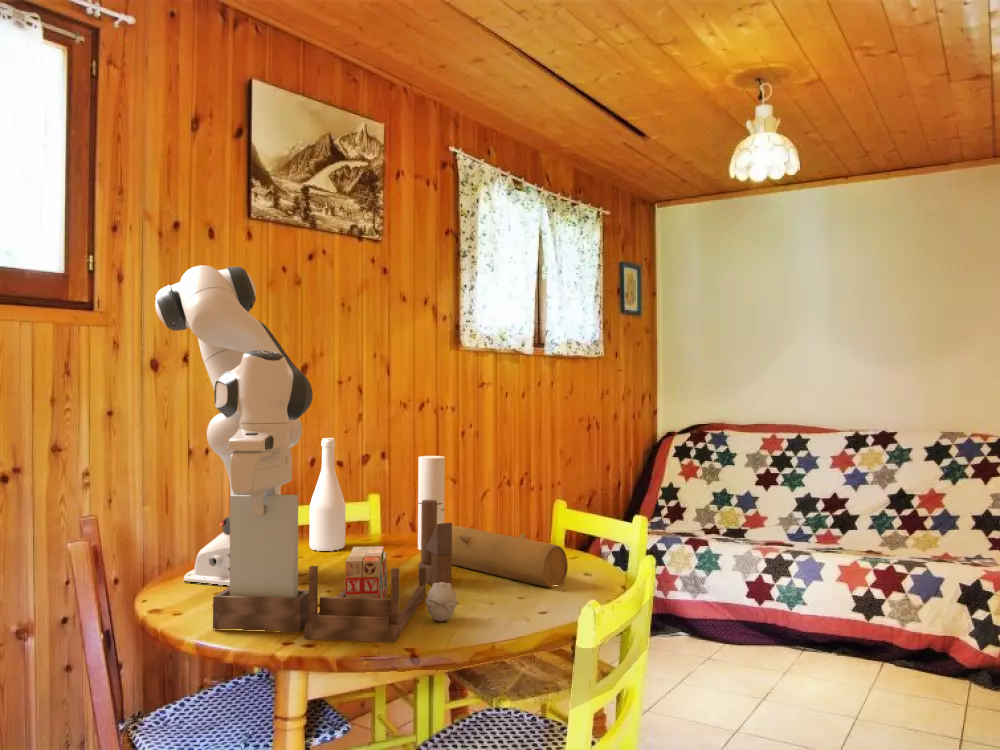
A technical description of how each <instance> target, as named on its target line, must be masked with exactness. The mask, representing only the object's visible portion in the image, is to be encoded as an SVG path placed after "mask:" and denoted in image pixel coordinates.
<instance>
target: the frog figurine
mask: <svg viewBox="0 0 1000 750" xmlns="http://www.w3.org/2000/svg"><path fill="white" fill-rule="evenodd" d="M424 603H425V606H426V607H427V612H428V614H429V616H430V617H431V618H432V619H433V620H435V622H436V621H437V622H445V621H448V620H449V619H450V618H451V617H452V616H453V614H454V612H455V609H456V607H457V606H458V598H457V597H456V591H455V590H454V588H453V586H452V582H451V583H445V582H439V583H434V584H433V585H432V584H431V588H430V589H429V591H428V593H427V597H425V602H424Z"/></svg>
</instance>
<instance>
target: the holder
mask: <svg viewBox="0 0 1000 750" xmlns="http://www.w3.org/2000/svg"><path fill="white" fill-rule="evenodd" d="M308 622H309V589H308V590H307V589H305V590H303V589H298V597H297V598H282V597H248V596H230V587H227V588H226V589H224V590H222V591H220V592H218V593H217V594H216V595H213V596H212V630H213V629H214V628H215V629H243V630H265V631H280V632H279V633H286V632H301V631H302V630H303V629H304V628H305V625H306V624H307V623H308ZM304 630H305V629H304ZM304 630H303V631H304ZM303 631H302V632H303ZM302 632H301V633H302Z"/></svg>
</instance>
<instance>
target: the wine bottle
mask: <svg viewBox="0 0 1000 750" xmlns="http://www.w3.org/2000/svg"><path fill="white" fill-rule="evenodd" d="M320 445H321V448H322V450H321V470H320V473H319V476H318V479H317V482H316V485H315V489H314V491H313V494H312V496H311V501H310V504H309V536H308V537H309V542H308V543H309V548H310V550H312V551H314V550H317V551H316V552H319V551H330V552H335V551H334V550H337V551H340V550H339V549H341V550H343V549H344V547H345V546H346V511H347V510H346V502H345V497H344V495H343V491H342V488H341V485H340V483H339V480H338V477H337V472H336V468H335V467H336V466H335V447H336V440H335V438H334V437H323V438H322V440H321V444H320ZM342 548H343V549H342Z"/></svg>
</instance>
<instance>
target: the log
mask: <svg viewBox="0 0 1000 750" xmlns="http://www.w3.org/2000/svg"><path fill="white" fill-rule="evenodd" d="M451 555H452V565H453V566H457V567H460V568H463V569H468V570H469V569H470V570H473V571H477V572H481V573H485V574H489V575H493V576H498V577H502V578H505V579H511V580H514V581H518V582H521V581H522V583H525V582H526V583H525V584H530V585H534V584H535V585H534V586H538V585H540V586H539V587H543V586H544V588H552V586H553V585H559V586H561V585H562V584H563V583H564V581H565V580H566V577H567V576H568V575H567V574H568V568H569V567H568V558H567V554H566V552H565V550H564V549H563V548H562V547H561V546H558V545H556V544H553V543H548V542H545V541H544V542H543V541H537V540H535V539H529V538H527V536H526V534H525V533H523V532H522V533H520V536H517V537H516V536H512V535H506V534H502V533H496V532H490V531H485V530H480V529H475V528H471V527H465V526H459V525H454V524H452V554H451ZM560 584H561V585H560Z"/></svg>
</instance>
